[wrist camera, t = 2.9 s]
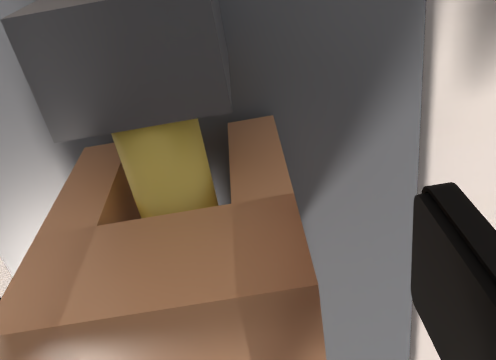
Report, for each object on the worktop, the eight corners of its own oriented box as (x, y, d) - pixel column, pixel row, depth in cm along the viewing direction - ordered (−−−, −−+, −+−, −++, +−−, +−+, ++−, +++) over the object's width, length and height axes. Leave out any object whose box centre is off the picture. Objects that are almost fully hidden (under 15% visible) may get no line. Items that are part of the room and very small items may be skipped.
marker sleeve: (84, 147, 11) (-21, 338, 6) (273, 114, 11) (318, 284, 6) (133, 269, 13) (83, 483, 8) (291, 243, 13) (335, 446, 8)
